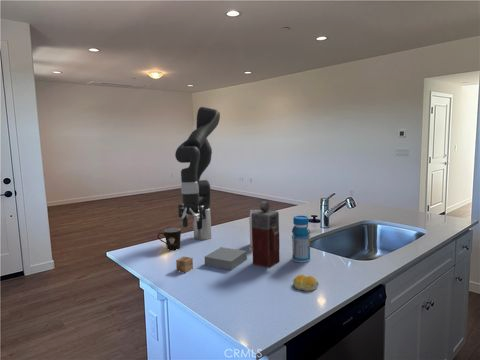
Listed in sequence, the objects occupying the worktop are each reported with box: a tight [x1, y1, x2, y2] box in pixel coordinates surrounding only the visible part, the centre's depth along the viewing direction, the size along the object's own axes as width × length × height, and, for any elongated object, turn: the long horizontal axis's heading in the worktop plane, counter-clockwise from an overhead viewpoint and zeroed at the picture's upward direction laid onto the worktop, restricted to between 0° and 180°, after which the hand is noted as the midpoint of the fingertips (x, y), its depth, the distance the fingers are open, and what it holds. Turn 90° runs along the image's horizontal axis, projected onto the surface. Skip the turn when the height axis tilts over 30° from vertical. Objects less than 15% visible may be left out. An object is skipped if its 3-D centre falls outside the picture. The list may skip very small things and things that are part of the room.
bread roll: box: [293, 274, 319, 292], centre depth 123 cm, size 8×9×4 cm
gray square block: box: [204, 246, 248, 271], centre depth 150 cm, size 14×14×4 cm
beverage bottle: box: [291, 214, 312, 263], centre depth 149 cm, size 8×8×20 cm
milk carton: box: [248, 209, 261, 248], centre depth 171 cm, size 7×7×19 cm
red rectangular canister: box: [251, 201, 281, 269], centre depth 146 cm, size 9×11×28 cm
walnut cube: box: [175, 256, 194, 274], centre depth 143 cm, size 5×5×5 cm
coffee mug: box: [157, 227, 182, 251], centre depth 172 cm, size 12×9×10 cm
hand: (192, 227), depth 146 cm, fingers open, 8 cm apart
